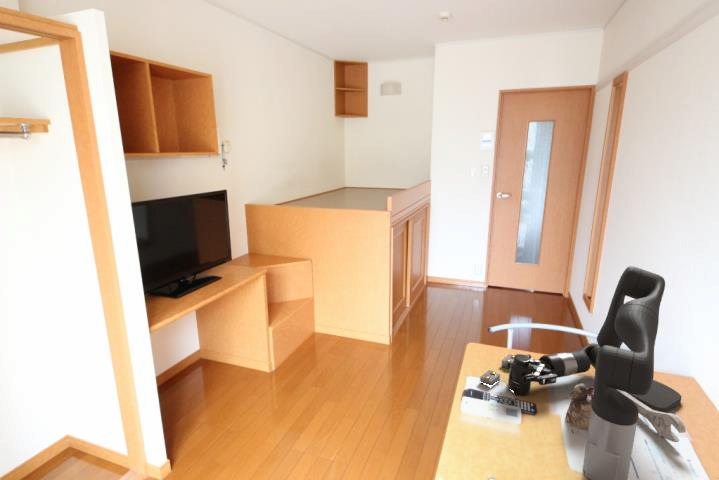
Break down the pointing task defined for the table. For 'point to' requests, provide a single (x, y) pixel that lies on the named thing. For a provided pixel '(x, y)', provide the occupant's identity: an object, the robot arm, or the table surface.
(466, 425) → the table surface
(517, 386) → the supplement bottle
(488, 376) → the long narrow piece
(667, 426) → the wrench
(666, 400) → the media streaming box
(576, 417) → the figurine
